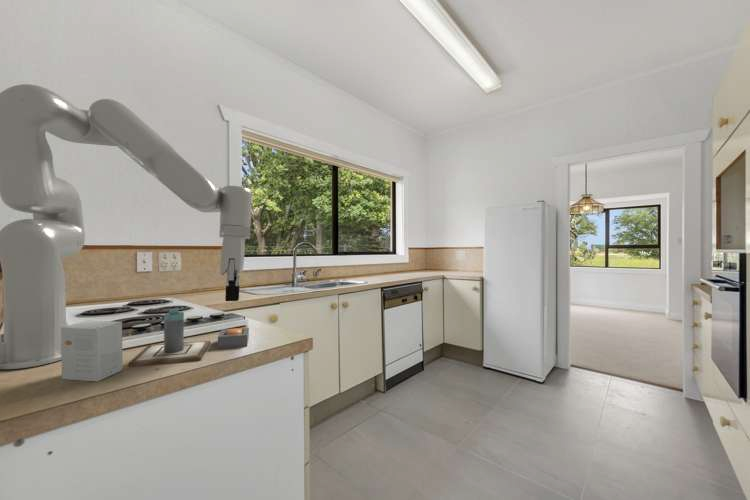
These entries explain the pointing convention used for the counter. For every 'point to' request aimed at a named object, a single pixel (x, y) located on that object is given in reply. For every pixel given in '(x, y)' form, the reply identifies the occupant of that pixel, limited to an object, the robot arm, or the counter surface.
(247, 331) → the button housing
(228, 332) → the button
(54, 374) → the counter surface
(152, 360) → the wooden picture frame
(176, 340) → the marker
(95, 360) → the small box
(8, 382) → the counter surface
